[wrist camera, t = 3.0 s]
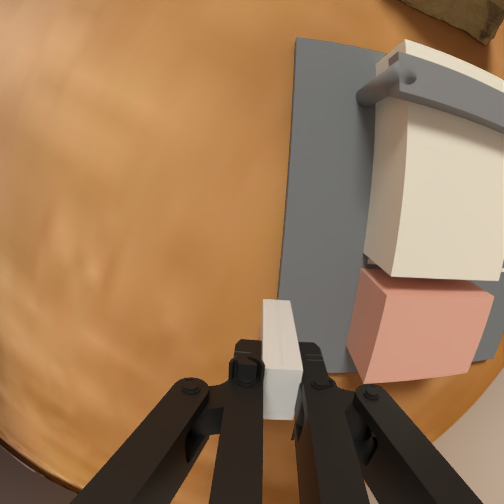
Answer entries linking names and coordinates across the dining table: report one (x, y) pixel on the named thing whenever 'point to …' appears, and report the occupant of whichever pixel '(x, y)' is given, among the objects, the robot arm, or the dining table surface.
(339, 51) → the mat
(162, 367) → the dining table surface
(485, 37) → the rock
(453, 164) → the clamped cream block
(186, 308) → the dining table surface
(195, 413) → the robot arm
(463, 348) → the stub
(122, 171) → the dining table surface
